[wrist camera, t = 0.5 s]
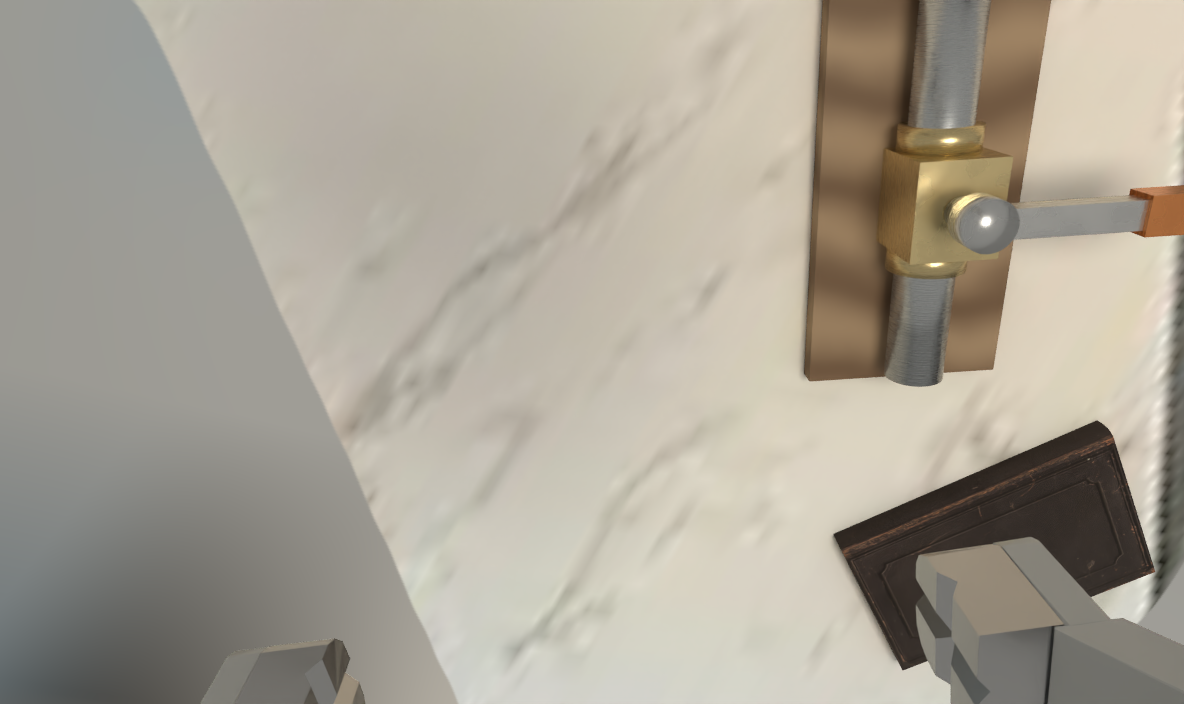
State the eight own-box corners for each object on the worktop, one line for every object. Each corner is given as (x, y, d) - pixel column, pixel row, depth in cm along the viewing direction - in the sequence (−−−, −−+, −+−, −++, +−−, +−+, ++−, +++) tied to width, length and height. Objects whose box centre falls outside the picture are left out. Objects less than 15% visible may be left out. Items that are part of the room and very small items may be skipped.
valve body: (893, -12, 48) (951, -19, 41) (982, -19, 48) (1057, -26, 41) (862, 362, 58) (904, 412, 51) (935, 357, 58) (988, 407, 51)
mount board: (823, -24, 49) (830, -26, 47) (1044, -40, 49) (1057, -42, 47) (804, 373, 60) (809, 381, 58) (983, 361, 60) (992, 369, 58)
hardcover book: (1137, 555, 68) (1155, 572, 66) (893, 652, 72) (903, 671, 70) (1093, 416, 62) (1111, 429, 60) (831, 529, 66) (839, 546, 64)
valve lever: (944, 246, 46) (959, 256, 44) (951, 194, 45) (966, 201, 43) (1221, 228, 46) (1247, 237, 44) (1235, 174, 45) (1263, 181, 43)
